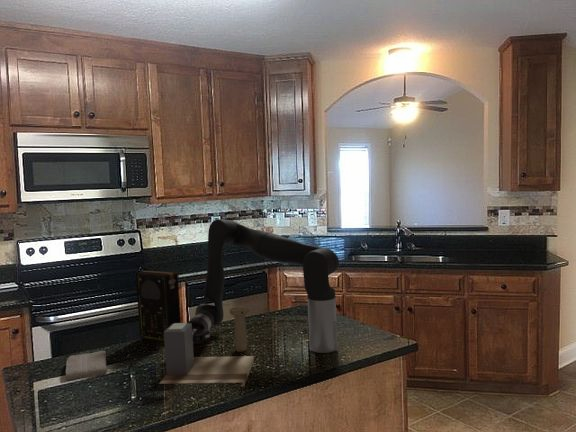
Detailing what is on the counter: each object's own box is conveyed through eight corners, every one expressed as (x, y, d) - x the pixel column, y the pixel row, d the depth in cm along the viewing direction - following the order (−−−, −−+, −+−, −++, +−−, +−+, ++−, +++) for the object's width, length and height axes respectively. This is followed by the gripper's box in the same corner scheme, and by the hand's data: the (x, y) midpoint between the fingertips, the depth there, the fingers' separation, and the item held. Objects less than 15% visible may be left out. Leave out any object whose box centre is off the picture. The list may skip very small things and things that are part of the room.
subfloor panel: (254, 359, 155) (253, 356, 155) (244, 386, 135) (243, 382, 135) (180, 361, 157) (179, 357, 157) (159, 387, 137) (159, 383, 137)
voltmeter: (137, 339, 181) (132, 272, 179) (154, 332, 188) (150, 268, 186) (168, 345, 173) (163, 275, 171) (185, 337, 180) (180, 270, 179)
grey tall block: (194, 364, 150) (191, 321, 149) (186, 375, 142) (183, 329, 141) (175, 365, 150) (172, 322, 149) (166, 375, 142) (163, 330, 141)
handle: (253, 353, 161) (251, 308, 160) (235, 357, 158) (233, 311, 157) (247, 349, 165) (245, 305, 164) (229, 353, 162) (227, 308, 161)
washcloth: (106, 356, 166) (105, 347, 165) (108, 375, 149) (107, 365, 149) (67, 362, 161) (67, 353, 161) (65, 382, 145) (64, 372, 144)
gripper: (178, 317, 167) (161, 333, 150) (216, 316, 166) (203, 332, 149) (179, 338, 168) (162, 357, 150) (217, 337, 166) (205, 356, 149)
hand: (183, 344), depth 150 cm, fingers closed
